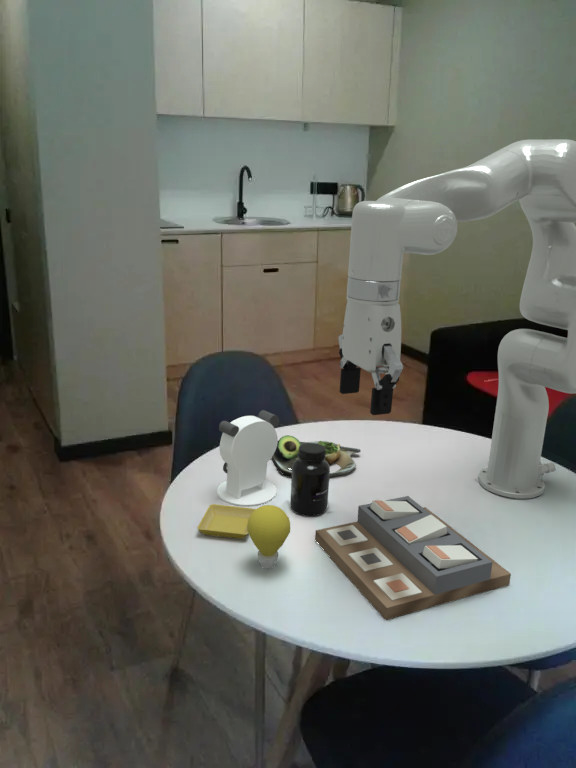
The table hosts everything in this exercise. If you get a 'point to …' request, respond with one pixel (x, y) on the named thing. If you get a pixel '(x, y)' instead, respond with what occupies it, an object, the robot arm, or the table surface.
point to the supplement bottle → (310, 480)
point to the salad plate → (334, 454)
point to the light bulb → (268, 533)
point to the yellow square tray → (225, 521)
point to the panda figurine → (248, 459)
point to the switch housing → (413, 553)
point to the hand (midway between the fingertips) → (364, 402)
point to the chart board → (392, 572)
